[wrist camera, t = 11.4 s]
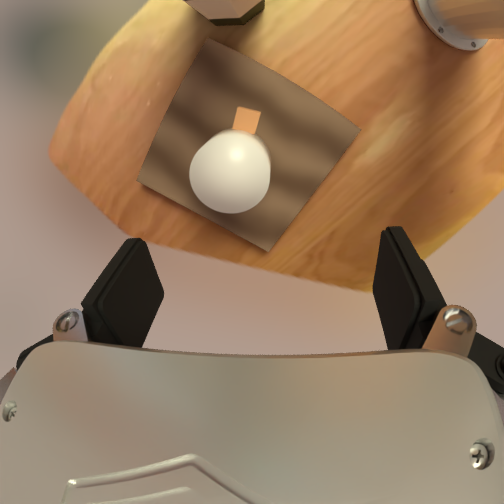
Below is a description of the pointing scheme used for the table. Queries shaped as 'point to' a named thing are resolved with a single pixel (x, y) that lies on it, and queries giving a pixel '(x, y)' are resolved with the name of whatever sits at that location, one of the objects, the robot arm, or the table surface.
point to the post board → (268, 129)
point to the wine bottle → (227, 10)
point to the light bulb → (232, 166)
